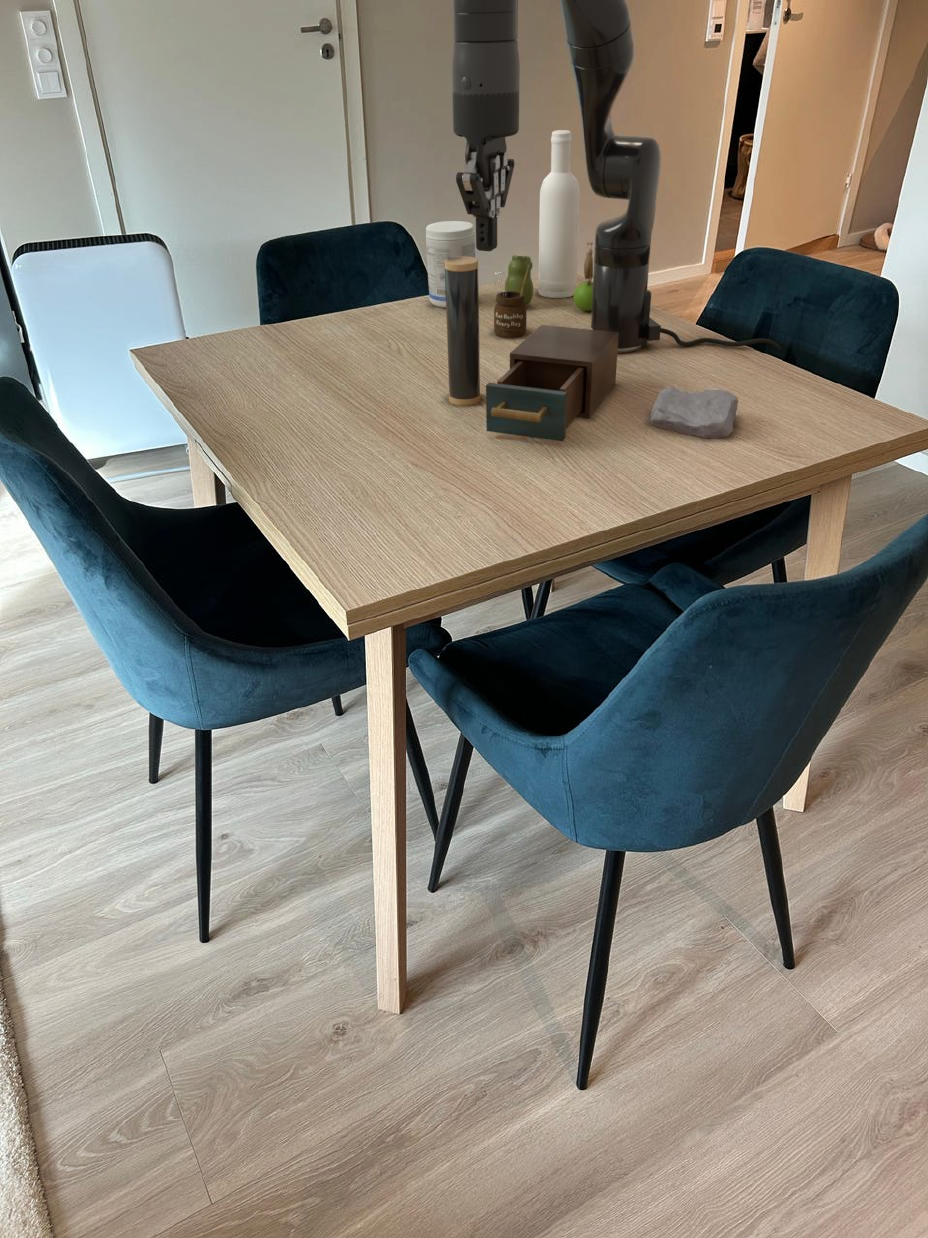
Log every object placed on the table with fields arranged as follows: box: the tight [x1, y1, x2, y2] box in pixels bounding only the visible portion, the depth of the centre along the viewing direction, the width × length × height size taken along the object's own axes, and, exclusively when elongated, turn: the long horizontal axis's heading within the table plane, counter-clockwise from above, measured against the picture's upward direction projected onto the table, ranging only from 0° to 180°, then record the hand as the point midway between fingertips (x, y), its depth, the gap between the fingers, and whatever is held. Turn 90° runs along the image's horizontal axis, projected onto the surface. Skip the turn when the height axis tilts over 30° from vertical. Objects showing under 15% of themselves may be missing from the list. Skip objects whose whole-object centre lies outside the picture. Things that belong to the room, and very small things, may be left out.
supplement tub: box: [425, 220, 476, 309], centre depth 192 cm, size 10×10×15 cm
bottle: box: [537, 129, 581, 299], centre depth 192 cm, size 8×8×30 cm
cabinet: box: [509, 324, 619, 420], centre depth 149 cm, size 15×13×9 cm
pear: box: [504, 254, 534, 307], centre depth 190 cm, size 6×5×10 cm
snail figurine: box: [572, 241, 594, 312], centre depth 186 cm, size 5×6×12 cm
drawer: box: [485, 360, 587, 442], centre depth 138 cm, size 17×11×7 cm, turn 158°
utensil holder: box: [493, 265, 529, 339], centre depth 175 cm, size 6×6×12 cm
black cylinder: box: [444, 256, 482, 407], centre depth 146 cm, size 5×5×21 cm
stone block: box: [650, 386, 739, 439], centre depth 140 cm, size 12×5×10 cm
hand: (486, 249), depth 118 cm, fingers closed
